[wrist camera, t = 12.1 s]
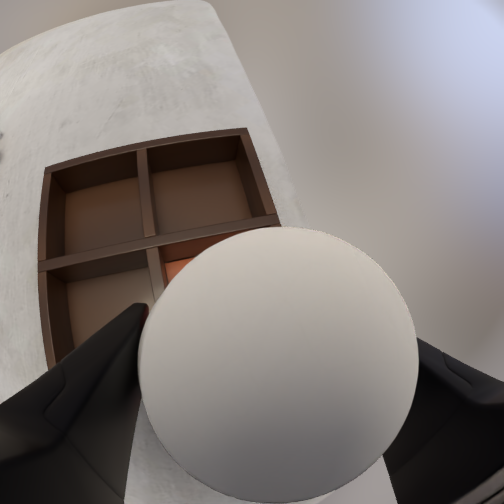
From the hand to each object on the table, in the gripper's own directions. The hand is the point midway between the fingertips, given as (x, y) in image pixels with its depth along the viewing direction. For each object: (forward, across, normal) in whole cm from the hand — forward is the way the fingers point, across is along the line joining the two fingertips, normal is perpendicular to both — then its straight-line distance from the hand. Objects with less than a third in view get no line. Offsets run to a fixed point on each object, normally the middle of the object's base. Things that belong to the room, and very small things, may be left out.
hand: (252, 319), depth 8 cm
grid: (+13, +5, +5) cm, 15 cm away
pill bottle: (+4, 0, +6) cm, 7 cm away
